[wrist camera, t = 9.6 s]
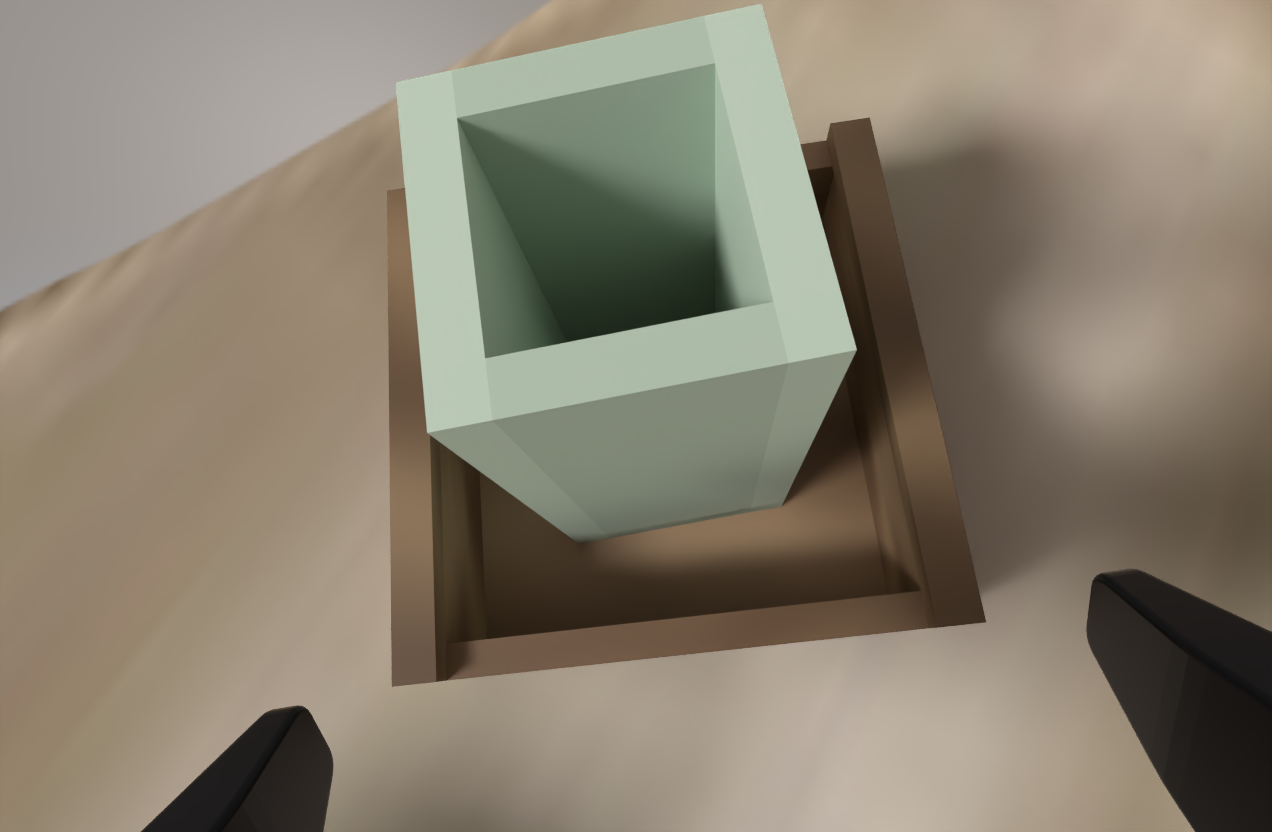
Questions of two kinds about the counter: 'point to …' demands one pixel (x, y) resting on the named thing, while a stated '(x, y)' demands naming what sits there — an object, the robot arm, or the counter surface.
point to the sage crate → (623, 275)
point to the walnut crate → (707, 550)
